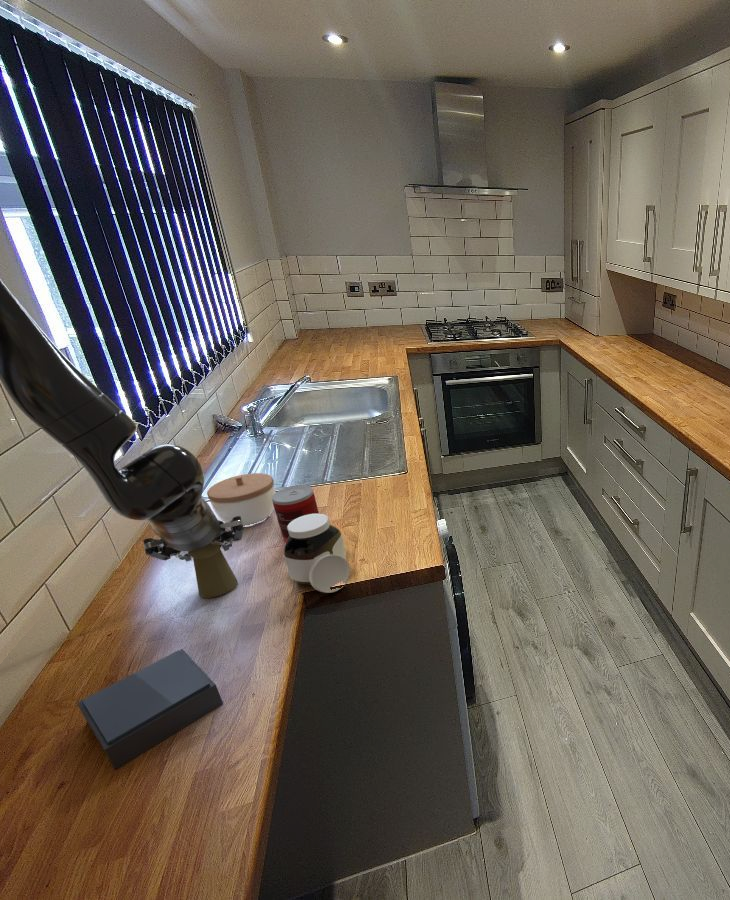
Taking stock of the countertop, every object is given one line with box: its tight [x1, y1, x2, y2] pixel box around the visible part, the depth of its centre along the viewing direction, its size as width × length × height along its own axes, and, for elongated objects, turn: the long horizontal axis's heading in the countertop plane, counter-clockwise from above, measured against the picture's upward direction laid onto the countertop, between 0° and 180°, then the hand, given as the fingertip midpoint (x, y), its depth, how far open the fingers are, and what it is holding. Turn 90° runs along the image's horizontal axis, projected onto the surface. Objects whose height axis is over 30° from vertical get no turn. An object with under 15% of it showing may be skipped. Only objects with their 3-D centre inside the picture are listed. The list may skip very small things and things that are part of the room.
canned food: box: [272, 484, 320, 544], centre depth 112 cm, size 8×8×11 cm
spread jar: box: [283, 513, 351, 594], centre depth 98 cm, size 12×11×12 cm
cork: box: [188, 544, 238, 599], centre depth 96 cm, size 6×6×11 cm
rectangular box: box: [76, 648, 224, 771], centre depth 72 cm, size 12×12×4 cm
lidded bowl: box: [206, 472, 277, 526], centre depth 119 cm, size 13×13×11 cm
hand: (207, 550), depth 97 cm, fingers closed on cork, 5 cm apart
